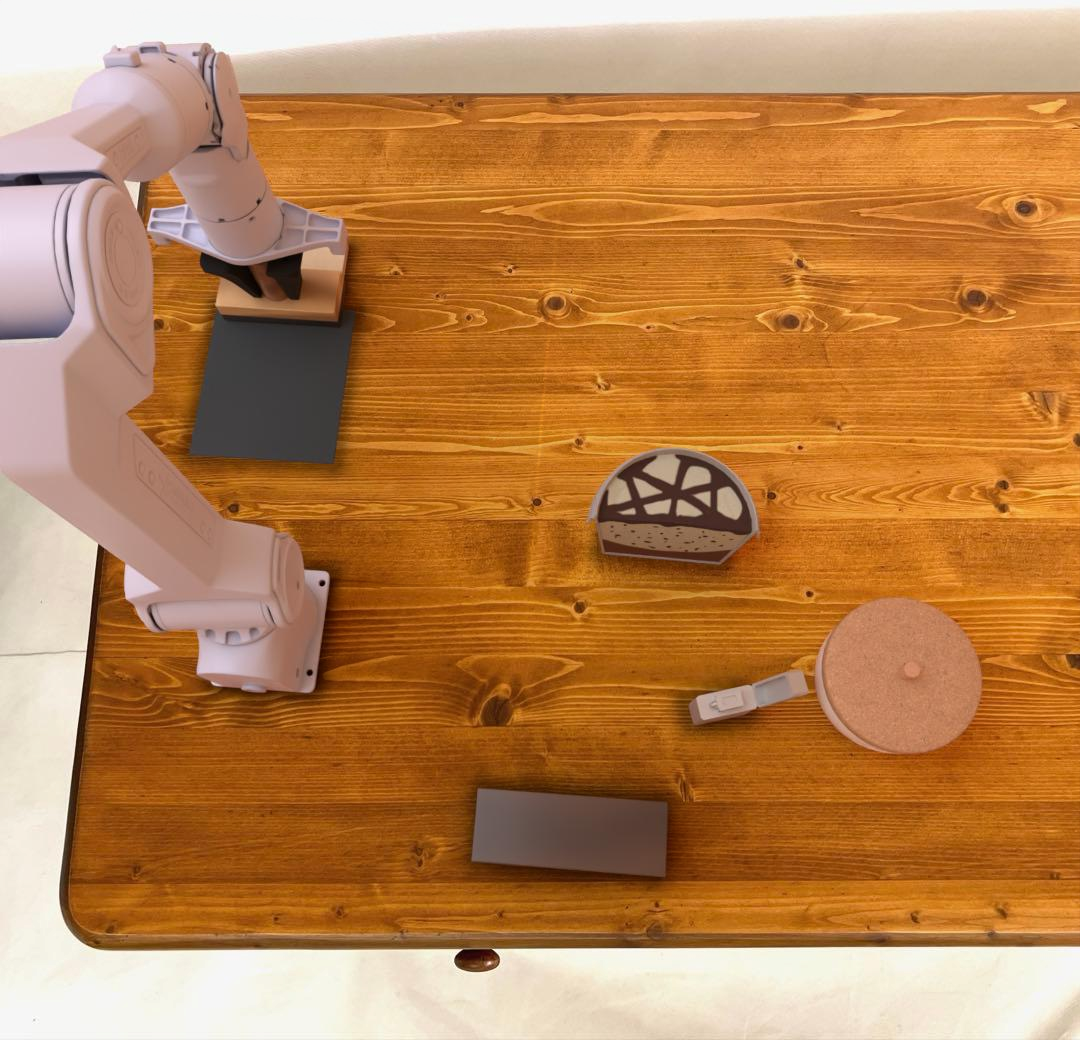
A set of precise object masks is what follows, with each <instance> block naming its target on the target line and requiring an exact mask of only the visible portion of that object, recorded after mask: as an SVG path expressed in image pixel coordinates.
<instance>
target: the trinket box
mask: <svg viewBox="0 0 1080 1040" xmlns="http://www.w3.org/2000/svg"><path fill="white" fill-rule="evenodd" d="M813 677H814V679H813V680H814V688H815V693H816V697H817V700H818V703H819V705H820V707H821V710H822V711H823V713H824V715H825V717H826V718H827V719H828V721H829V722H830V723H831V724H832V726H833V727H834V728H835V729H836V730H837V731H838V732H839V733H841V734H842V735H843V736H844V737H846V738H847V739H848V740H850V741H852V742H853V743H855V744H857V745H859V746H861V747H864V748H865V749H868V750H872V751H875V752H879V753H882V754H883V753H884V754H891V755H892V754H893V755H919V754H920V755H921V754H924V753H929V752H933V751H936V750H938V749H941V748H943V747H946V746H948V745H949V744H951V743H952V742H954V741H955V740H956V739H958V738H959V737H960V736H961V735H962V734H963V733H964V732H965V731H966V730H967V729H968V727H969V726H970V725H971V723H972V722H973V720H974V718H975V716H976V714H977V712H978V710H979V706H980V703H981V700H982V693H983V674H982V668H981V663H980V660H979V657H978V655H977V651H976V649H975V647H974V646H973V643H972V641H971V639H970V638H969V637H968V635H967V633H966V632H965V631H964V629H963V628H962V627H961V626H960V625H959V624H958V623H957V622H956V621H955V620H954V619H953V618H951V616H949V615H948V614H947V613H945V612H944V611H942V610H940V609H939V608H937V607H935V606H934V605H932V604H929V603H928V602H927V603H926V602H925V601H922V600H918V599H914V598H911V597H900V596H887V597H881V598H875V599H872V600H869V601H867V602H864V603H862V604H860V605H858V606H857V607H856V608H853V609H852V610H851V611H849V612H848V613H847V614H846V615H844V616H843V617H842V618H841V619H840V620H839V622H838V623H837V624H836V625H835V626H834V627H833V628H832V629H831V630H830V632H829V633H828V634H827V635H826V637H825V639H824V641H822V644H821V646H820V648H819V650H818V653H817V655H816V660H815V666H814V675H813Z"/></svg>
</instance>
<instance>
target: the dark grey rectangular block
mask: <svg viewBox="0 0 1080 1040" xmlns="http://www.w3.org/2000/svg"><path fill="white" fill-rule="evenodd" d="M475 803H476V804H475V811H474V812H475V813H474V824H473V835H472V845H471V856H470V857H471V858H470V861H471V862H472V863H480V864H492V865H493V864H495V865H507V866H520V867H521V866H522V867H532V868H533V867H534V868H545V869H558V870H571V871H582V872H583V871H584V872H594V873H595V872H596V873H608V874H609V873H610V874H621V875H633V876H635V875H636V876H644V877H645V876H646V877H661V878H666V876H667V857H668V856H667V853H668V851H667V850H668V826H669V824H668V823H669V802H668V801H660V800H646V799H635V798H634V799H633V798H620V797H606V796H595V795H581V794H568V793H556V792H555V793H554V792H540V791H530V790H529V791H527V790H517V789H516V790H515V789H501V788H488V787H478V788H477V790H476V799H475Z"/></svg>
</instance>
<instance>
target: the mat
mask: <svg viewBox="0 0 1080 1040" xmlns="http://www.w3.org/2000/svg"><path fill="white" fill-rule="evenodd" d="M355 318H356V310H347V309H343V312H342V319H341V325H340V327H327V326H311V325H295V324H279V323H263V322H247V321H231V320H224V318H223V317H222V315H221V314H220V312H219V311H218V309H217V308H216V310H215V315H214V320H213V325H212V329H211V335H210V341H209V346H208V351H207V357H206V361H205V368H204V372H203V377H202V383H201V389H200V394H199V399H198V404H197V409H196V414H195V419H194V425H193V431H192V435H191V441H190V446H189V452H188V455H189V456H200V457H201V456H202V457H216V458H232V459H248V460H264V461H278V462H280V461H281V462H295V463H311V464H326V465H334V463H335V458H336V451H337V443H338V436H339V430H340V422H341V417H342V415H341V414H342V408H343V402H344V395H345V388H346V382H347V375H348V374H347V373H348V366H349V360H350V353H351V346H352V339H353V332H354V325H355Z"/></svg>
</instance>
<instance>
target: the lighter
mask: <svg viewBox="0 0 1080 1040" xmlns="http://www.w3.org/2000/svg"><path fill="white" fill-rule="evenodd" d="M808 694H809V688H808V684H807V681H806V678H805V674H804V671H803V670H802V669H795V670H789V671H785V672H782V673H778V674H776V675H773V676H770V677H767V678H765V679H762V680H759V681H756V682H754V683H752V685H750V684H746V685H742V686H737V687H732V688H727V689H724V690H718V691H714V692H709V693H705V694H700V695H698V696H696V697H695V698H694V699H692V700H691V701H690V702H689V704H688V710H689V714H690V718H691V721H692V722H691V723H692V724H693V725H694V726H700V725H704V724H708V723H713V722H714V723H715V722H718V721H723V720H727V719H731V718H732V719H733V718H736V717H740V716H745V715H747V714H748V713H750V712H752V711H754V710H756V709H757V707H758V708H759V709H760V708H766V707H771V706H775V705H778V704H781V703H784V702H787V701H791V700H794V699H797V698H801V697H804V696H806V695H808Z"/></svg>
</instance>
